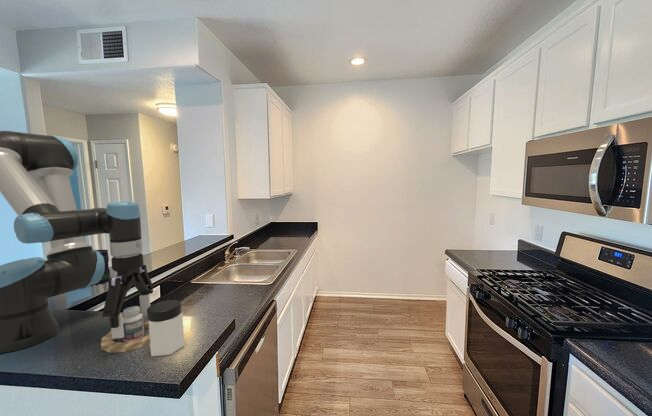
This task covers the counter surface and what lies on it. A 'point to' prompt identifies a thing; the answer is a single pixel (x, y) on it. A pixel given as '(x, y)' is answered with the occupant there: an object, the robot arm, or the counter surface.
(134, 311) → the pill bottle
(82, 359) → the counter surface
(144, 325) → the bead ring
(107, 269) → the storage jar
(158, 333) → the jar
